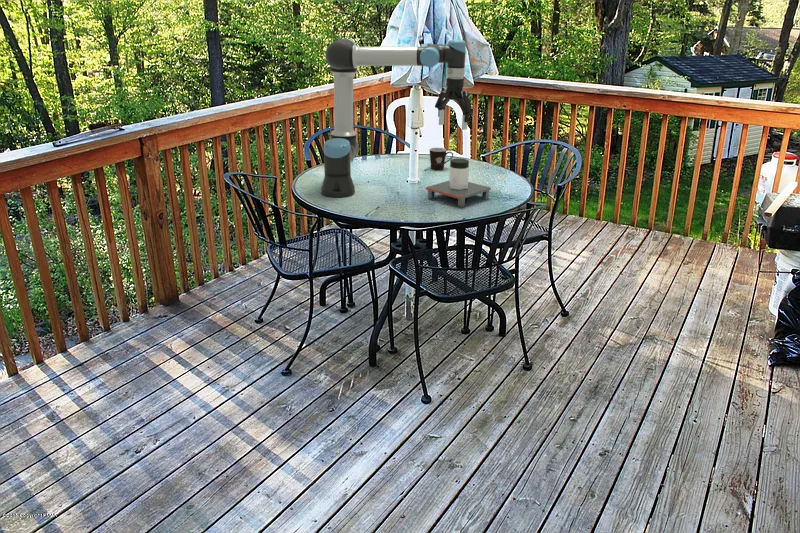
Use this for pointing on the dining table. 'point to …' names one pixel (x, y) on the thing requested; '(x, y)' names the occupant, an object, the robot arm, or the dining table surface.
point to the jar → (459, 174)
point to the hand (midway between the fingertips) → (452, 127)
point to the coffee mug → (438, 158)
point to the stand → (458, 191)
